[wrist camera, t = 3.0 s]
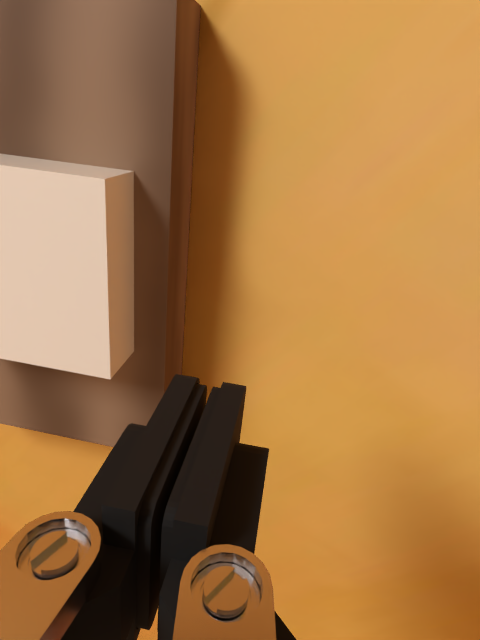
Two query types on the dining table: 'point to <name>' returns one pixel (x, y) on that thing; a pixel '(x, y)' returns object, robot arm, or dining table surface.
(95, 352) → the tile
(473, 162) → the dining table surface
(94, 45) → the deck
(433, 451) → the dining table surface
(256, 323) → the dining table surface
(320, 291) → the dining table surface
